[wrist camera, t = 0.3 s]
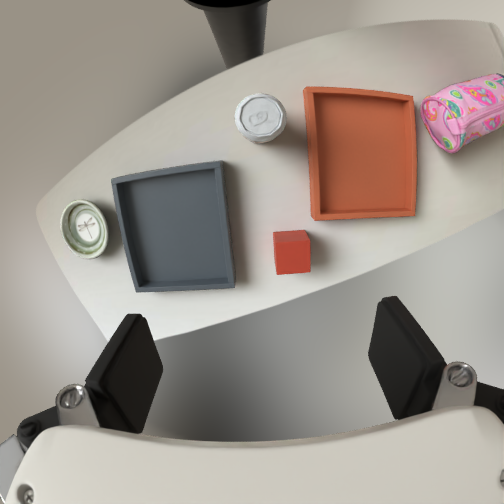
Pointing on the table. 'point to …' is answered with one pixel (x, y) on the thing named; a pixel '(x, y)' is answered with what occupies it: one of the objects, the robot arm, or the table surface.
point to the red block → (291, 252)
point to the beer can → (260, 118)
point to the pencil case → (464, 111)
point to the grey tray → (176, 228)
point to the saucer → (84, 229)
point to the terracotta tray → (360, 153)
